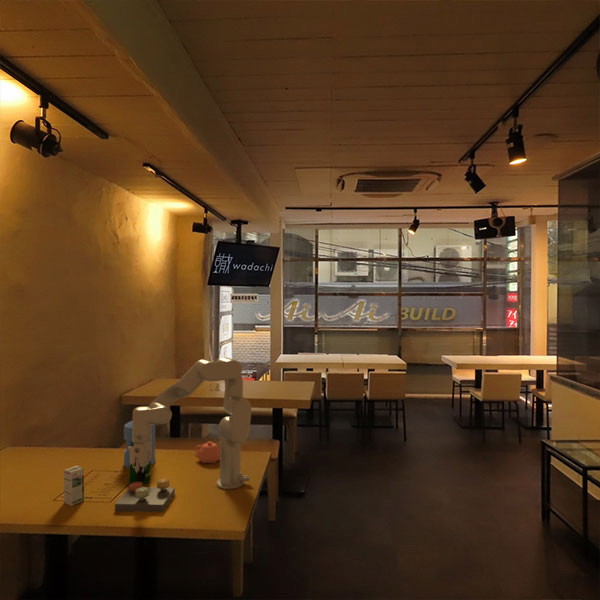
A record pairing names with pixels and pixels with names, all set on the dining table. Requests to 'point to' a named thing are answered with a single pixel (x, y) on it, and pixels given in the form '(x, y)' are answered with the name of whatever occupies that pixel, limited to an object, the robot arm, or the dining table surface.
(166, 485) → the tan rounded piece
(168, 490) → the plate
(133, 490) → the red rounded lump
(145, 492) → the pale green ball
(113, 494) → the dining table surface
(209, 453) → the sugar bowl
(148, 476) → the milk carton
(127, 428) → the water jug
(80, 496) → the syrup box
